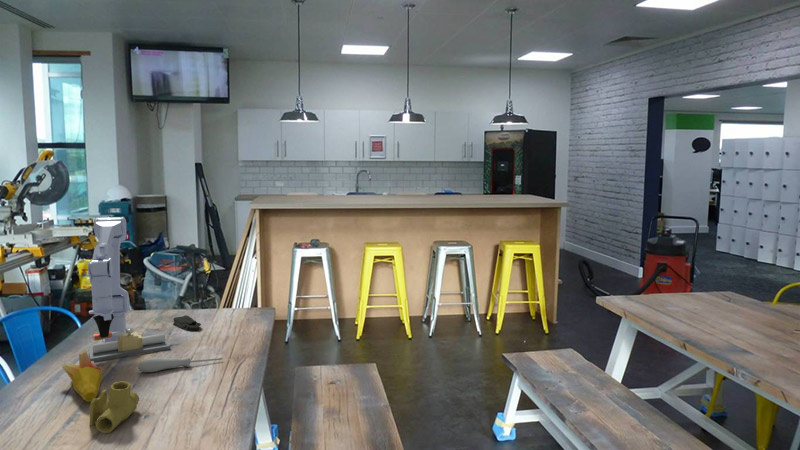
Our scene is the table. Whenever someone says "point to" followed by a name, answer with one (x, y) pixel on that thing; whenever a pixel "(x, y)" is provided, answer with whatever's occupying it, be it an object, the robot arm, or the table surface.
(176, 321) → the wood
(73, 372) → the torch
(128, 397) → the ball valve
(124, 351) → the valve stand
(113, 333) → the valve lever
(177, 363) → the screwdriver
